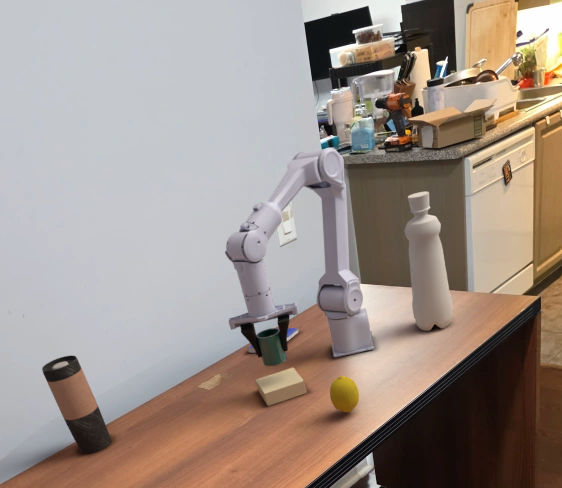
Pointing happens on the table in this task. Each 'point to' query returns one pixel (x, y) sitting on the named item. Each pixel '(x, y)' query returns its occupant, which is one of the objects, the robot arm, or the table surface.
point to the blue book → (290, 334)
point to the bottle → (427, 266)
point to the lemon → (344, 394)
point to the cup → (271, 347)
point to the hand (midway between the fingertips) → (272, 352)
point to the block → (281, 386)
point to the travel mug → (77, 404)
